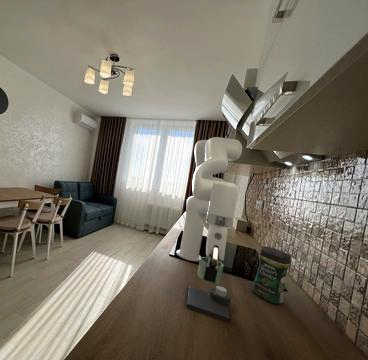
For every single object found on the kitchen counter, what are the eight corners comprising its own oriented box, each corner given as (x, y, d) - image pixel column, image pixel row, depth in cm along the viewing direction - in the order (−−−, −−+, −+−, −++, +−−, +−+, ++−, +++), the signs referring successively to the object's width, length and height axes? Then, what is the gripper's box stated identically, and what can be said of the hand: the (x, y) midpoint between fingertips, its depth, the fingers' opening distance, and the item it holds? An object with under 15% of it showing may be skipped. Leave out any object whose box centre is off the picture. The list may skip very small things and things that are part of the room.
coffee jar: (248, 291, 83) (257, 244, 82) (259, 288, 87) (268, 244, 86) (275, 307, 74) (285, 254, 74) (286, 303, 78) (296, 254, 78)
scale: (188, 288, 77) (190, 280, 77) (227, 300, 73) (229, 292, 73) (186, 307, 65) (188, 297, 65) (233, 323, 61) (235, 313, 61)
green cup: (197, 271, 72) (200, 255, 72) (219, 277, 70) (222, 261, 70) (196, 279, 66) (199, 262, 66) (221, 287, 63) (224, 268, 63)
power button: (215, 290, 73) (216, 284, 73) (225, 293, 72) (226, 288, 72) (215, 295, 70) (216, 289, 70) (226, 298, 69) (227, 292, 69)
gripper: (236, 228, 58) (224, 292, 58) (228, 219, 74) (219, 269, 75) (207, 222, 60) (196, 283, 61) (205, 214, 77) (197, 263, 77)
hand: (209, 275), depth 68 cm, fingers closed on green cup, 7 cm apart
